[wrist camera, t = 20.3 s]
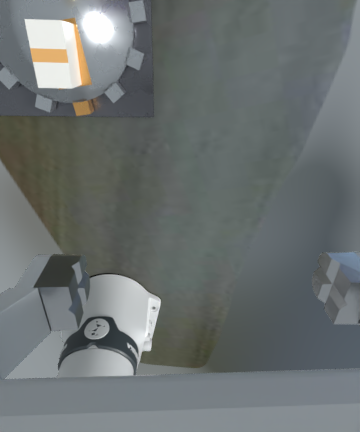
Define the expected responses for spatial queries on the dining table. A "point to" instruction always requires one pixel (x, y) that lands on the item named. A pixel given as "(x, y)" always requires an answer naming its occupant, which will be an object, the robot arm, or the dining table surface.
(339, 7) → the dining table surface
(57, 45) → the link block
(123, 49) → the sprocket
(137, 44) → the base plate
